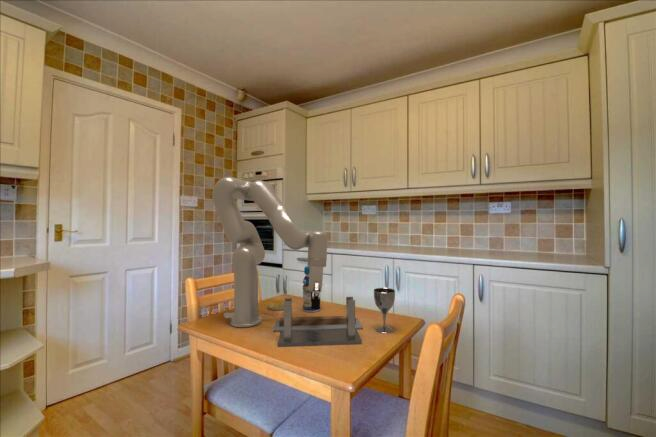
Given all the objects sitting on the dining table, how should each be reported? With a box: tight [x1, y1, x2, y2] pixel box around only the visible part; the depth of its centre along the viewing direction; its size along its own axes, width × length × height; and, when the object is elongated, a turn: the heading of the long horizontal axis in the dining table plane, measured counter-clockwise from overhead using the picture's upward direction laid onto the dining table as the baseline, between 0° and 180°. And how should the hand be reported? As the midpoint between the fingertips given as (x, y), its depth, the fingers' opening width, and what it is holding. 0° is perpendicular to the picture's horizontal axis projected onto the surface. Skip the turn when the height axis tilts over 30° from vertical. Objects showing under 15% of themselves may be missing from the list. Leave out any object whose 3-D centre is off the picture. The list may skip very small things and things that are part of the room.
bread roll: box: [267, 299, 285, 311], centre depth 144 cm, size 8×9×4 cm
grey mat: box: [272, 317, 364, 333], centre depth 120 cm, size 34×11×1 cm, turn 94°
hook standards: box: [277, 296, 363, 348], centre depth 106 cm, size 28×10×14 cm, turn 94°
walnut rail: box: [278, 315, 357, 326], centre depth 120 cm, size 30×3×2 cm, turn 94°
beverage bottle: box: [302, 265, 322, 313], centre depth 141 cm, size 8×8×20 cm
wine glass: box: [373, 287, 396, 334], centre depth 115 cm, size 8×8×15 cm
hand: (315, 305), depth 120 cm, fingers open, 9 cm apart
